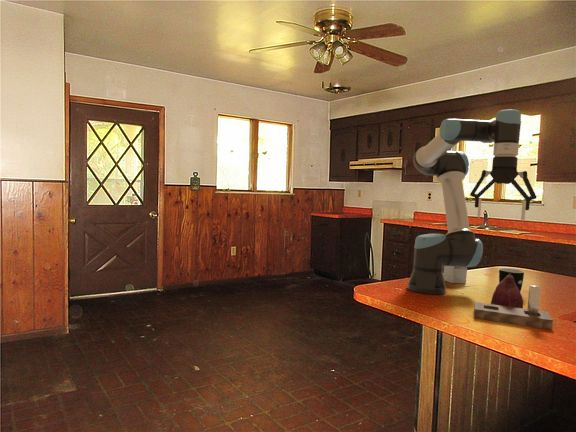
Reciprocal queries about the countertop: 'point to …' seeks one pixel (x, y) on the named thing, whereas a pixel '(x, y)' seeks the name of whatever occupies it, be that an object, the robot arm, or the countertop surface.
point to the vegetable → (507, 293)
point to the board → (512, 315)
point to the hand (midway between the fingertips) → (500, 218)
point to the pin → (533, 300)
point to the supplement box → (455, 274)
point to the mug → (515, 273)
